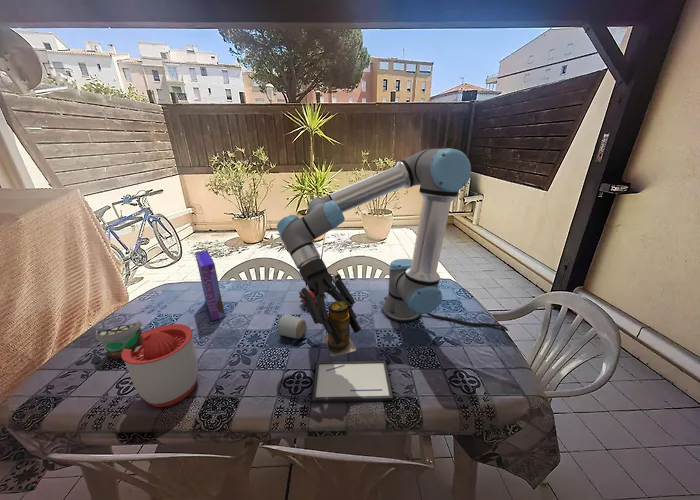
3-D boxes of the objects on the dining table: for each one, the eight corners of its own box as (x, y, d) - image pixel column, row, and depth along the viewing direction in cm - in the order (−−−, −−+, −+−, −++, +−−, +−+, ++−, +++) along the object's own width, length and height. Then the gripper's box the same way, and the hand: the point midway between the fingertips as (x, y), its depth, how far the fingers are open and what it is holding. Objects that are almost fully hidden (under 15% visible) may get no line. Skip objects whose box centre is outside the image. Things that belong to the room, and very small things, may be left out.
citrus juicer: (159, 368, 85) (142, 314, 78) (214, 369, 84) (201, 315, 77) (118, 414, 70) (92, 352, 63) (183, 416, 70) (164, 353, 63)
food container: (98, 366, 86) (87, 341, 82) (104, 354, 91) (94, 329, 87) (145, 354, 91) (137, 329, 88) (148, 343, 96) (140, 319, 93)
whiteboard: (385, 362, 87) (385, 360, 87) (392, 400, 74) (392, 397, 74) (316, 364, 87) (316, 361, 86) (312, 402, 73) (311, 399, 73)
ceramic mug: (298, 343, 96) (296, 325, 93) (277, 339, 98) (276, 321, 95) (311, 326, 105) (310, 309, 102) (292, 322, 107) (291, 305, 105)
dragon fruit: (298, 306, 121) (324, 309, 122) (296, 305, 113) (325, 308, 114) (300, 287, 124) (327, 290, 125) (299, 285, 115) (327, 288, 116)
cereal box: (224, 317, 111) (214, 263, 103) (212, 320, 109) (200, 266, 100) (217, 298, 125) (207, 250, 116) (205, 302, 122) (194, 252, 114)
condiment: (346, 332, 81) (346, 297, 77) (356, 350, 74) (357, 313, 70) (323, 337, 79) (321, 302, 75) (331, 357, 71) (329, 319, 67)
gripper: (329, 261, 87) (366, 325, 82) (276, 279, 75) (315, 357, 69) (340, 249, 82) (380, 318, 76) (285, 268, 69) (328, 351, 64)
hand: (349, 337), depth 73 cm, fingers closed on condiment, 6 cm apart
